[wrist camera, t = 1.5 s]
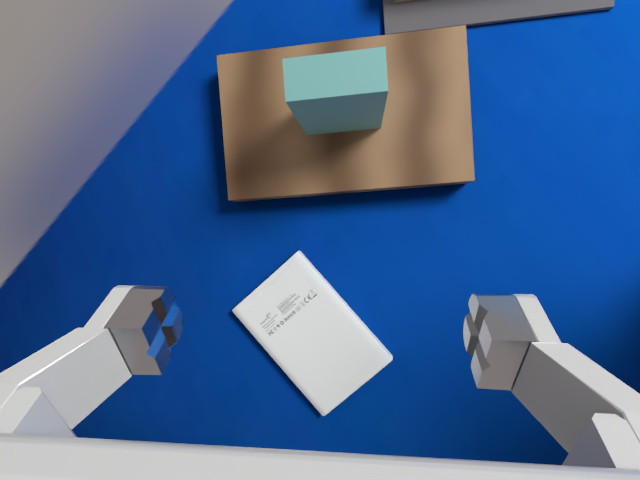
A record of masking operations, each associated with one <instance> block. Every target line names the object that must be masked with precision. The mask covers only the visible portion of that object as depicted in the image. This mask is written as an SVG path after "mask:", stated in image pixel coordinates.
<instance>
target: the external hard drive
mask: <svg viewBox="0 0 640 480" xmlns="http://www.w3.org/2000/svg"><path fill="white" fill-rule="evenodd" d="M232 311H233V313H234V314H235V315H236V316H237V317H238V318H239V320H240V321H241V322H242V323H243V324H244V326H245V327H246V328H247V329H248V330H249V331H250V332H251V334H252V335H253V336H254V337H255V338H256V340H257V341H258V342H259V343H260V344H261V345H262V347H263V348H264V349H265V350H266V351H267V352H268V354H269V355H270V356H271V357H272V358H273V359H274V361H275V362H276V363H277V364H278V365H279V366H280V368H281V369H282V370H283V371H284V372H285V373H286V374H287V376H288V377H289V378H290V379H291V380H292V381H293V383H294V384H295V385H296V386H297V387H298V388H299V390H300V391H301V392H302V393H303V394H304V395H305V396H306V398H307V399H308V400H309V401H310V402H311V403H312V404H313V406H314V407H315V408H316V409H317V410H318V411H319V413H320V414H321V415H322V416H325V415H327V414H328V413H329V412H330V411H331V410H333V409H334V408H335V407H336V406H338V405H339V404H340V403H341V402H342V401H344V400H345V399H346V398H347V397H349V396H350V395H351V394H352V393H353V392H355V391H356V390H357V389H358V388H359V387H361V386H362V385H363V384H364V383H366V382H367V381H368V380H369V379H370V378H372V377H373V376H374V375H375V374H376V373H378V372H379V371H380V370H382V369H383V368H384V367H385V366H386V365H387V364H388V363H390V362H391V361H392V360H393V356H392V354H391V353H390V352H389V351H388V350H387V349H386V348H385V346H384V345H383V344H382V343H381V342H380V341H379V340H378V338H377V337H376V336H375V335H374V334H373V333H372V332H371V331H370V329H369V328H368V327H367V326H366V325H365V324H364V323H363V321H362V320H361V319H360V318H359V317H358V316H357V315H356V314H355V312H354V311H353V310H352V309H351V308H350V307H349V306H348V304H347V303H346V302H345V301H344V300H343V299H342V298H341V297H340V295H339V294H338V293H337V292H336V291H335V290H334V289H333V287H332V286H331V285H330V284H329V283H328V282H327V281H326V279H325V278H324V277H323V276H322V275H321V274H320V273H319V272H318V270H317V269H316V268H315V267H314V266H313V265H312V264H311V263H310V261H309V260H308V259H307V258H306V257H305V256H304V254H303V253H302V252H301V251H297V252H296V253H295V254H294V255H293V256H292V257H291V258H290V259H289V260H287V261H286V262H285V263H284V264H283V265H282V266H281V267H280V268H279V269H277V270H276V271H275V272H274V273H273V274H272V275H271V276H270V277H269V278H267V279H266V280H265V281H264V282H263V283H262V284H261V285H260V286H258V287H257V288H256V289H255V290H254V291H253V292H252V293H251V294H249V295H248V296H247V297H246V298H245V299H244V300H243V301H242V302H240V303H239V304H238V305H237V306H236V307H235V308H234V309H233V310H232Z"/></svg>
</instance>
